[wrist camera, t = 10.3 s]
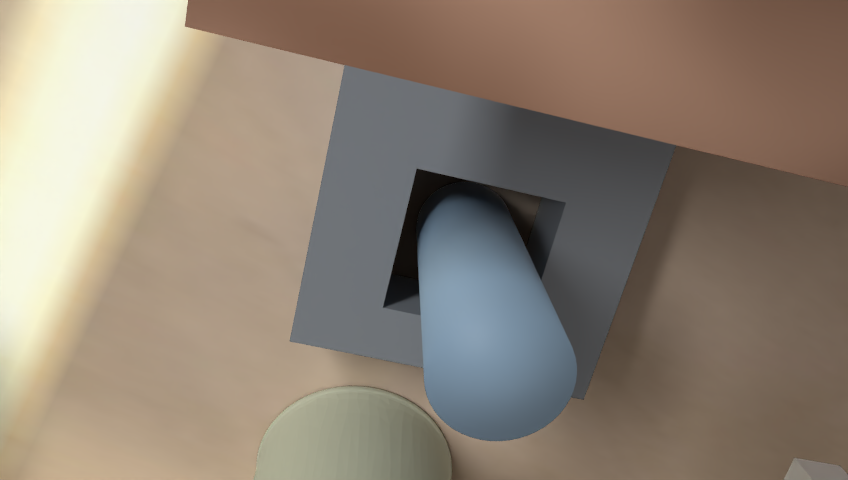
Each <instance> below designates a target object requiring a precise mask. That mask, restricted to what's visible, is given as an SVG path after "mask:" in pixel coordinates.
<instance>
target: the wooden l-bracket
mask: <svg viewBox="0 0 848 480" xmlns="http://www.w3.org/2000/svg"><path fill="white" fill-rule="evenodd" d="M185 27H190V28H194V29H198V30H202V31H206V32H210V33H214V34H218V35H223V36H227V37H231V38H235V39H239V40H243V41H247V42H252V43H256V44H260V45H264V46H268V47H272V48H276V49H280V50H285V51H289V52H293V53H297V54H301V55H305V56H309V57H314V58H318V59H322V60H326V61H330V62H334V63H338V64H343V65H347V66H351V67H355V68H359V69H363V70H367V71H371V72H376V73H380V74H384V75H388V76H392V77H396V78H400V79H405V80H409V81H413V82H417V83H421V84H425V85H429V86H433V87H438V88H442V89H446V90H450V91H454V92H458V93H462V94H467V95H471V96H475V97H479V98H483V99H487V100H491V101H495V102H500V103H504V104H508V105H512V106H516V107H520V108H524V109H529V110H533V111H537V112H541V113H545V114H549V115H553V116H557V117H562V118H566V119H570V120H574V121H578V122H582V123H586V124H591V125H595V126H599V127H603V128H607V129H611V130H615V131H620V132H624V133H628V134H632V135H636V136H640V137H644V138H648V139H653V140H657V141H661V142H665V143H669V144H673V145H677V146H682V147H686V148H690V149H694V150H698V151H702V152H706V153H710V154H715V155H719V156H723V157H727V158H731V159H735V160H739V161H744V162H748V163H752V164H756V165H760V166H764V167H768V168H772V169H777V170H781V171H785V172H789V173H793V174H797V175H801V176H806V177H810V178H814V179H818V180H822V181H826V182H830V183H834V184H839V185H843V186H847V187H848V0H188V6H187V14H186V22H185Z"/></svg>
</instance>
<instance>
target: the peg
mask: <svg viewBox="0 0 848 480" xmlns="http://www.w3.org/2000/svg"><path fill="white" fill-rule="evenodd" d="M416 234H417V254H418V273H419V292H420V311H421V330H422V350H423V369H424V384H425V390H426V394H427V397H428V399H429V402H430V404H431V406H432V407H433V409H434V411H435V412H436V413H437V415H438V416H439V417H440V418H441V419H442V420H443V421H444V422H445V423H446V424H447V425H449V426H450V427H451V428H453V429H454V430H456V431H458V432H460V433H462V434H464V435H467V436H469V437H472V438H476V439H480V440H487V441H506V440H513V439H518V438H521V437H524V436H527V435H530V434H532V433H534V432H536V431H538V430H540V429H542V428H543V427H545V426H546V425H548V424H549V423H550V422H552V421H553V420H554V419H555V418H556V417H557V416H558V415H559V414H560V413H561V411H562V410H563V409H564V408H565V406H566V405H567V403H568V401H569V400H570V398H571V395H572V393H573V391H574V387H575V384H576V377H577V363H576V357H575V354H574V351H573V348H572V346H571V343H570V341H569V339H568V337H567V335H566V333H565V330H564V328H563V326H562V324H561V322H560V320H559V318H558V315H557V313H556V311H555V309H554V307H553V305H552V303H551V300H550V298H549V296H548V294H547V292H546V290H545V288H544V285H543V283H542V281H541V279H540V277H539V275H538V273H537V270H536V268H535V266H534V264H533V262H532V260H531V257H530V255H529V253H528V251H527V249H526V247H525V245H524V242H523V240H522V238H521V236H520V234H519V232H518V230H517V227H516V225H515V223H514V221H513V219H512V217H511V215H510V212H509V210H508V208H507V206H506V204H505V203H504V201H503V200H502V198H501V197H500V196H499V195H498V194H497V193H495V192H494V191H493V190H491V189H490V188H488V187H486V186H484V185H481V184H478V183H473V182H457V183H452V184H449V185H446V186H444V187H442V188H440V189H438V190H437V191H435V192H434V193H433V194H432V195H431V196H429V198H428V199H427V200H426V201H425V203H424V204H423V206H422V207H421V210H420V212H419V215H418V218H417V223H416Z"/></svg>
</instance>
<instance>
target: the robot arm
mask: <svg viewBox="0 0 848 480" xmlns="http://www.w3.org/2000/svg"><path fill="white" fill-rule="evenodd" d="M784 480H848V474H847V473H846V472H845V471H844V470H843V469H842V467H841V466H839V465H833V464H828V463H822V462H816V461H811V460H805V459H799V458H794V459H793V462H792V464H791V466H790V468H789V470H788V472H787V474H786V476H785V478H784Z"/></svg>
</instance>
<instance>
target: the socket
mask: <svg viewBox="0 0 848 480" xmlns="http://www.w3.org/2000/svg"><path fill="white" fill-rule="evenodd" d="M675 148H676V145H673V144H669V143H665V142H661V141H657V140H653V139H648V138H644V137H640V136H636V135H632V134H628V133H624V132H620V131H615V130H611V129H607V128H603V127H599V126H595V125H591V124H586V123H582V122H578V121H574V120H570V119H566V118H562V117H557V116H553V115H549V114H545V113H541V112H537V111H533V110H529V109H524V108H520V107H516V106H512V105H508V104H504V103H500V102H495V101H491V100H487V99H483V98H479V97H475V96H471V95H467V94H462V93H458V92H454V91H450V90H446V89H442V88H438V87H433V86H429V85H425V84H421V83H417V82H413V81H409V80H405V79H400V78H396V77H392V76H388V75H384V74H380V73H376V72H371V71H367V70H363V69H359V68H355V67H351V66H347V65H345V66H344V71H343V76H342V81H341V86H340V91H339V96H338V101H337V106H336V111H335V116H334V121H333V126H332V131H331V136H330V141H329V146H328V151H327V156H326V161H325V166H324V171H323V176H322V181H321V187H320V192H319V197H318V202H317V207H316V212H315V217H314V222H313V227H312V232H311V237H310V242H309V247H308V252H307V257H306V262H305V267H304V272H303V277H302V282H301V287H300V292H299V297H298V302H297V307H296V312H295V317H294V322H293V327H292V332H291V337H290V342H295V343H301V344H306V345H311V346H316V347H321V348H326V349H331V350H336V351H341V352H346V353H351V354H356V355H361V356H366V357H371V358H376V359H381V360H386V361H391V362H396V363H401V364H406V365H411V366H416V367H421V368H423V350H422V330H421V311H420V292H419V280H417V279H413V278H408V277H403V276H399V275H394V274H391V272H392V268H393V264H394V260H395V255H396V251H397V247H398V243H399V239H400V235H401V231H402V227H403V223H404V219H405V214H406V210H407V206H408V202H409V198H410V194H411V190H412V186H413V182H414V178H415V173H416V169H421V170H426V171H430V172H434V173H439V174H443V175H447V176H452V177H456V178H461V179H465V180H469V181H474V182H478V183H482V184H487V185H491V186H496V187H500V188H504V189H509V190H513V191H517V192H522V193H526V194H530V195H535V196H539V197H542V198H541V201H540V205H539V208H538V211H537V214H536V218H535V221H534V224H533V227H532V231H531V234H530V237H529V240H528V244H527V247H526V249H527V251H528V253H529V255H530V257H531V260H532V262H533V264H534V266H535V268H536V270H537V273H538V275H539V277H540V279H541V281H542V283H543V285H544V288H545V290H546V292H547V294H548V296H549V298H550V300H551V303H552V305H553V307H554V309H555V311H556V313H557V315H558V318H559V320H560V322H561V324H562V326H563V328H564V330H565V333H566V335H567V337H568V339H569V341H570V343H571V346H572V348H573V351H574V354H575V357H576V363H577V377H576V384H575V387H574V391H573V393H572V395H571V397H573V398H578V399H583V400H584V397H585V394H586V391H587V389H588V386H589V383H590V381H591V378H592V375H593V372H594V370H595V367H596V364H597V361H598V359H599V356H600V353H601V350H602V348H603V345H604V342H605V339H606V337H607V334H608V331H609V328H610V326H611V323H612V320H613V318H614V315H615V312H616V309H617V307H618V304H619V301H620V298H621V296H622V293H623V290H624V287H625V285H626V282H627V279H628V276H629V274H630V271H631V268H632V265H633V263H634V260H635V257H636V255H637V252H638V249H639V246H640V244H641V241H642V238H643V235H644V233H645V230H646V227H647V224H648V222H649V219H650V216H651V213H652V211H653V208H654V205H655V202H656V200H657V197H658V194H659V192H660V189H661V186H662V183H663V181H664V178H665V175H666V172H667V170H668V167H669V164H670V161H671V159H672V156H673V153H674V150H675Z"/></svg>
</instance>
